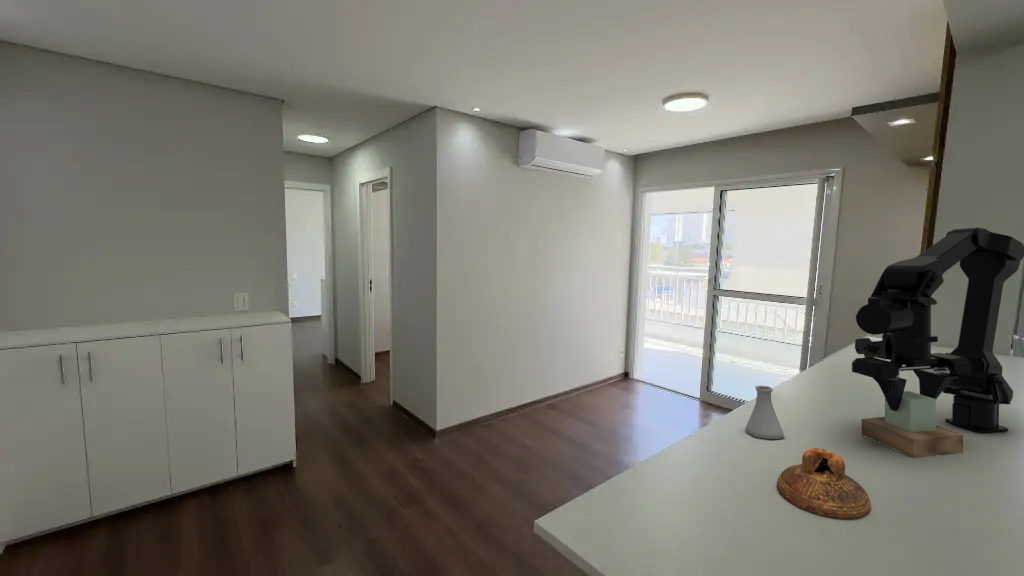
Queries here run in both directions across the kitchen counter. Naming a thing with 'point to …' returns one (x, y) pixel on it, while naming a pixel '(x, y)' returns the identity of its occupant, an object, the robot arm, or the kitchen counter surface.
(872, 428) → the walnut block
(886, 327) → the robot arm
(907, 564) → the kitchen counter surface
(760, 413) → the flask
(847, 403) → the kitchen counter surface
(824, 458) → the brown clay lid
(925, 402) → the sage cube
